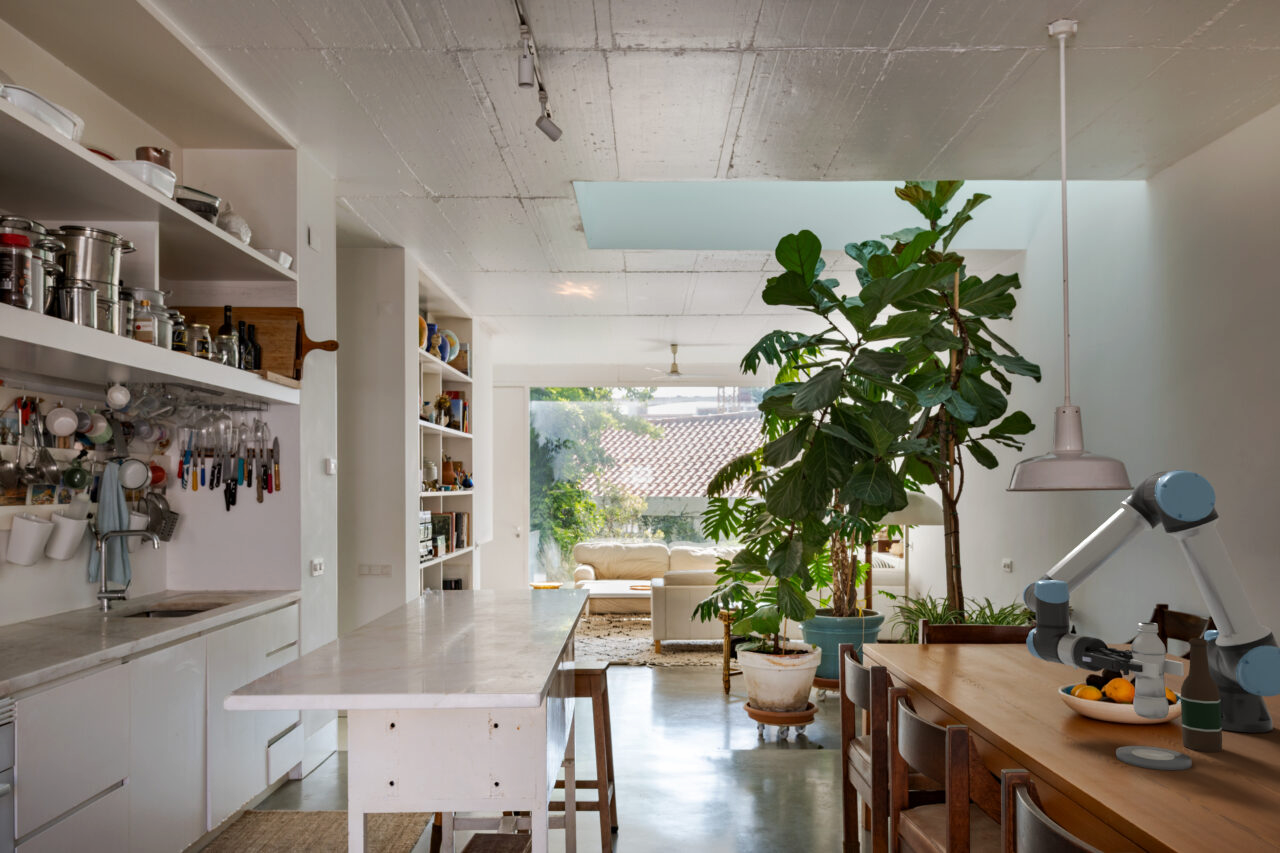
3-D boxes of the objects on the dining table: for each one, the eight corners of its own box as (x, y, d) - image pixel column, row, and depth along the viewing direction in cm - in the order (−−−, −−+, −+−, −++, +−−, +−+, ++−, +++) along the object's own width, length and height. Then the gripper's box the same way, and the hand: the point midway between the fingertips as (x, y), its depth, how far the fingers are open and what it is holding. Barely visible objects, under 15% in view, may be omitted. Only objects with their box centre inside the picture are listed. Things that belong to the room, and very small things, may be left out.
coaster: (1184, 755, 200) (1184, 749, 200) (1198, 773, 187) (1197, 766, 187) (1112, 748, 205) (1112, 743, 205) (1121, 766, 192) (1120, 759, 192)
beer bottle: (1218, 745, 208) (1213, 637, 210) (1227, 754, 201) (1222, 642, 203) (1178, 742, 211) (1174, 635, 213) (1186, 750, 204) (1182, 640, 205)
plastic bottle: (1174, 723, 193) (1170, 626, 194) (1138, 721, 194) (1135, 625, 196) (1163, 715, 199) (1160, 622, 201) (1129, 714, 201) (1126, 621, 202)
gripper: (1117, 666, 217) (1205, 685, 195) (1051, 671, 211) (1135, 691, 189) (1115, 634, 218) (1203, 649, 196) (1050, 638, 212) (1133, 654, 190)
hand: (1169, 670), depth 193 cm, fingers closed on plastic bottle, 6 cm apart
